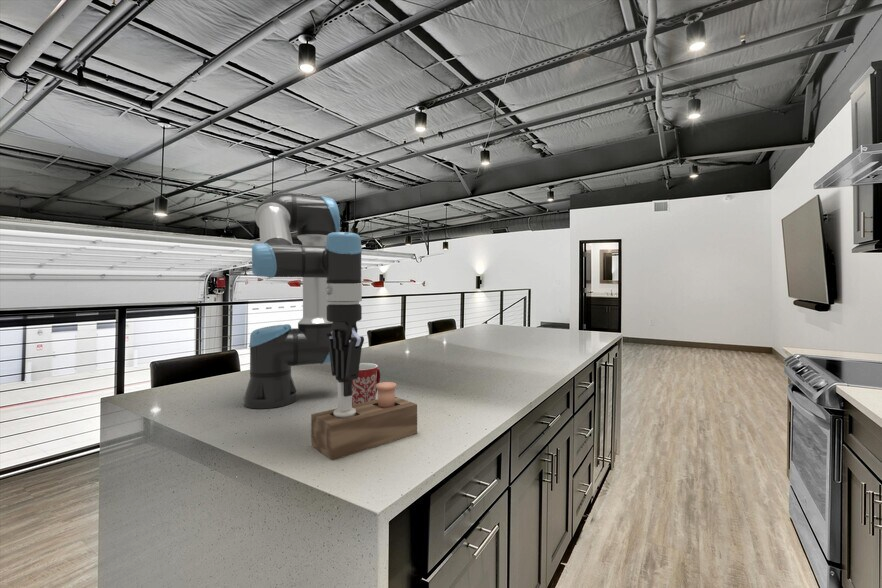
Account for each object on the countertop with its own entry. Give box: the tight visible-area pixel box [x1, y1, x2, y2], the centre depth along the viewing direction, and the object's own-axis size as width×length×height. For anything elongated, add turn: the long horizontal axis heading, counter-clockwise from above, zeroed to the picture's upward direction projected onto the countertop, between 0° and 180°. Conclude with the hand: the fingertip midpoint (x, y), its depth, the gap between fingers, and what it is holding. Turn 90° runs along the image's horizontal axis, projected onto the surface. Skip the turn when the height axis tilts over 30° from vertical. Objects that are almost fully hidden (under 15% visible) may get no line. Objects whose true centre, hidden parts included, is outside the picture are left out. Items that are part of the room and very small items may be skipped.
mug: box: [352, 362, 381, 405], centre depth 109 cm, size 13×9×14 cm
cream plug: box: [334, 408, 356, 419], centre depth 86 cm, size 5×5×7 cm
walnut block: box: [310, 396, 418, 461], centre depth 90 cm, size 10×22×7 cm, turn 132°
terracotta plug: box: [376, 381, 397, 409], centre depth 94 cm, size 5×5×7 cm
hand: (344, 409), depth 86 cm, fingers closed
